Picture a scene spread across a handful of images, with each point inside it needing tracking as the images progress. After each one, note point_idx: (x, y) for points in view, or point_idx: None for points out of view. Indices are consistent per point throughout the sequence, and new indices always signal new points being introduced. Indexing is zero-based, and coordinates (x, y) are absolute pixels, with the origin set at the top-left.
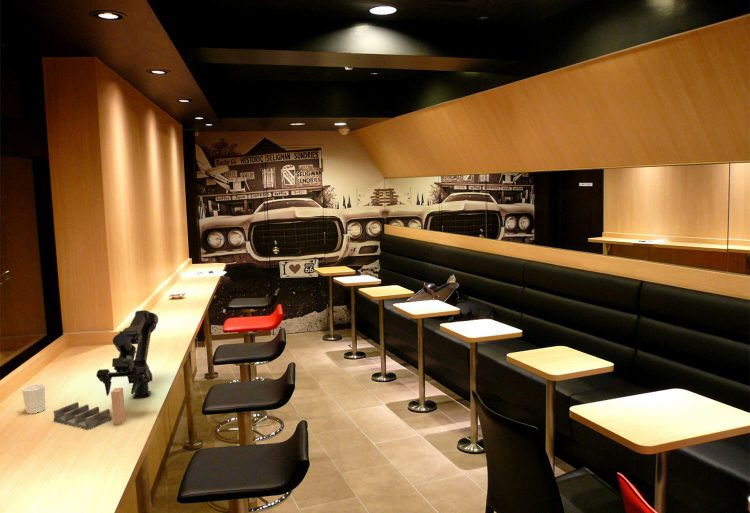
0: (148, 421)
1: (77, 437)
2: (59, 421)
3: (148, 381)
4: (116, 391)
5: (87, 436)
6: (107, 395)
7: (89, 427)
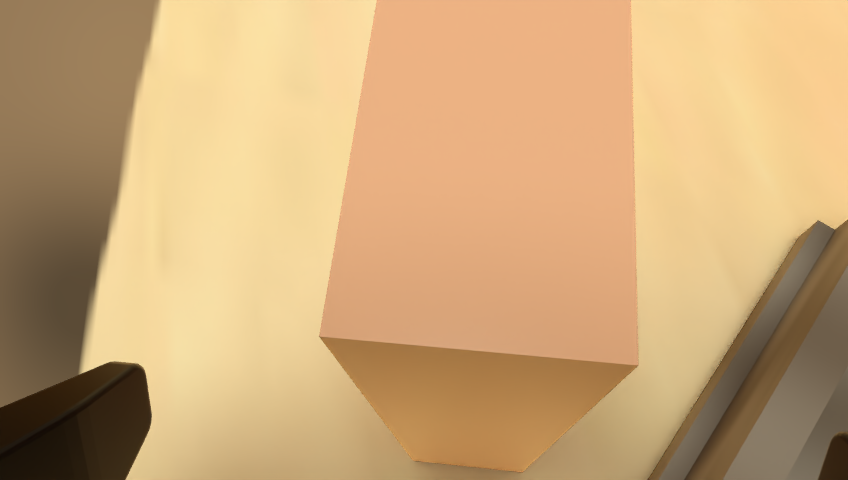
0: (121, 328)
1: (828, 72)
2: None
3: None
4: (464, 9)
5: (726, 75)
6: (835, 470)
7: (806, 236)
